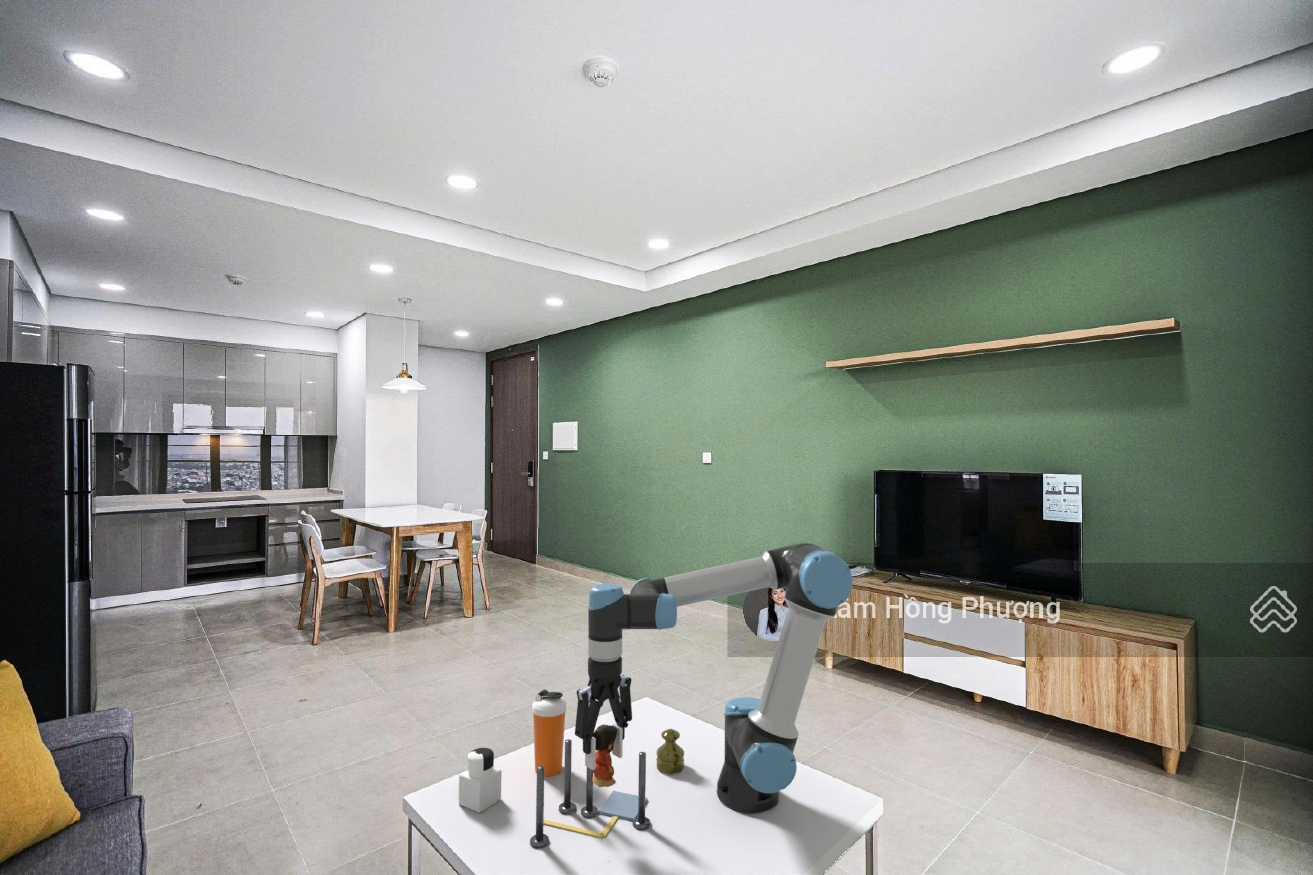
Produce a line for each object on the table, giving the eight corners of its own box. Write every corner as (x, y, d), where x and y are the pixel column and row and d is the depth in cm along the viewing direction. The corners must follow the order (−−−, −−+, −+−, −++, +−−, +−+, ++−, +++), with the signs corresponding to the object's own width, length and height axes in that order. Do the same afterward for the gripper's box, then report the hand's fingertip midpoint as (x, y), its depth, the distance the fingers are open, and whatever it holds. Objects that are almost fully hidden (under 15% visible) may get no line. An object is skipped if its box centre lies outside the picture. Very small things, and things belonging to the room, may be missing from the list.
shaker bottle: (558, 780, 159) (559, 701, 159) (525, 775, 161) (527, 698, 161) (570, 762, 167) (571, 688, 168) (539, 759, 169) (540, 685, 170)
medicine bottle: (480, 790, 154) (481, 741, 154) (501, 799, 150) (502, 749, 150) (458, 804, 147) (458, 753, 148) (479, 814, 144) (480, 762, 144)
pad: (647, 800, 150) (647, 797, 150) (634, 821, 142) (634, 818, 142) (613, 793, 153) (613, 790, 153) (598, 813, 145) (598, 810, 145)
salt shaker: (677, 777, 161) (677, 738, 161) (651, 770, 164) (652, 732, 164) (688, 764, 167) (688, 727, 167) (663, 758, 170) (663, 721, 171)
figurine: (611, 791, 133) (613, 734, 133) (587, 787, 134) (588, 731, 134) (620, 776, 139) (621, 722, 139) (596, 772, 140) (597, 719, 140)
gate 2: (652, 821, 142) (653, 751, 142) (646, 831, 138) (647, 759, 138) (585, 806, 147) (586, 738, 148) (577, 815, 143) (578, 746, 144)
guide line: (618, 817, 143) (618, 816, 143) (604, 838, 135) (604, 837, 135) (558, 804, 148) (558, 802, 148) (540, 823, 140) (540, 822, 140)
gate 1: (578, 806, 147) (579, 738, 148) (543, 850, 131) (544, 773, 131) (563, 802, 149) (564, 735, 149) (526, 845, 133) (527, 770, 133)
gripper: (628, 642, 146) (627, 741, 146) (557, 662, 133) (556, 770, 132) (649, 650, 141) (648, 752, 140) (578, 671, 127) (577, 784, 127)
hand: (603, 761), depth 136 cm, fingers closed on figurine, 7 cm apart
